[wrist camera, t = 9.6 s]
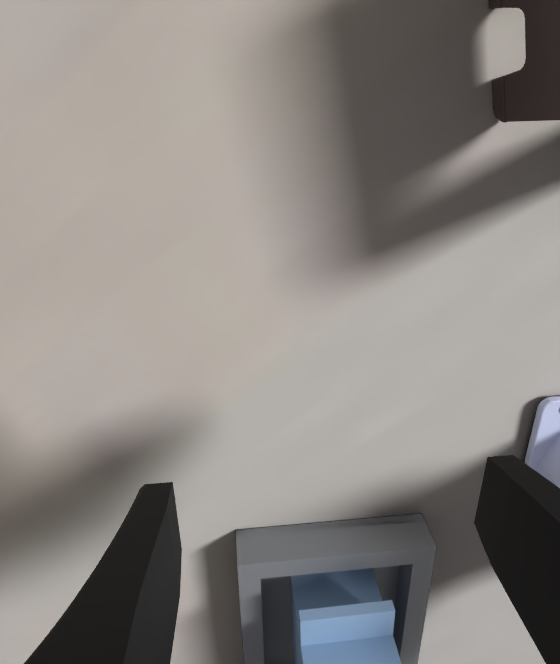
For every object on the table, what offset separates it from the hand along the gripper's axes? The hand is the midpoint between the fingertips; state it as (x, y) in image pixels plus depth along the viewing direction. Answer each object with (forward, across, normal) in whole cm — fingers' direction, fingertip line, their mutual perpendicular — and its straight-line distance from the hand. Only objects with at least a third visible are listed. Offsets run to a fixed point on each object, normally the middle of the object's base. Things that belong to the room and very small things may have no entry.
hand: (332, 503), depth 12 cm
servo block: (+9, -2, +16) cm, 18 cm away
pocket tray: (+9, -2, +16) cm, 19 cm away
